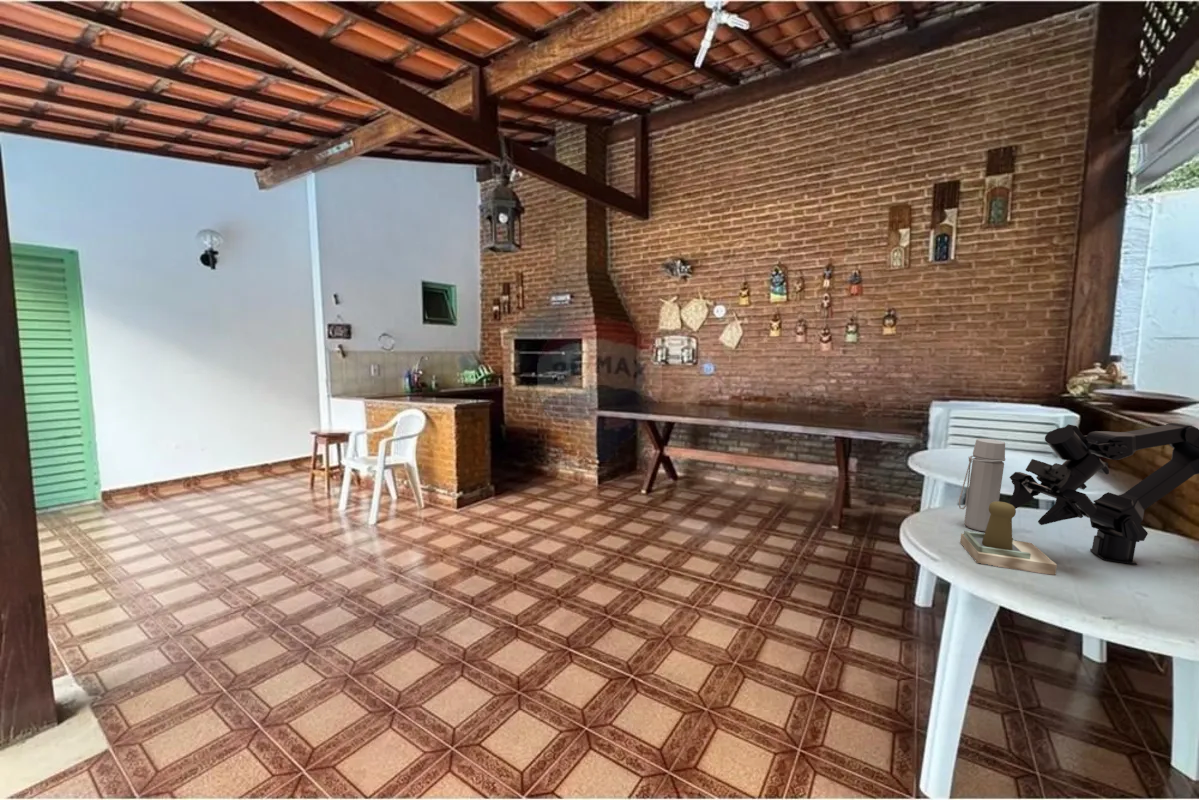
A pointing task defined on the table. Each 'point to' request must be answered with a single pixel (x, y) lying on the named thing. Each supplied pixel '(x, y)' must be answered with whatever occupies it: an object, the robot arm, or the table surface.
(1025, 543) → the dock
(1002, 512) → the cork
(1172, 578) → the table surface
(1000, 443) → the water bottle
